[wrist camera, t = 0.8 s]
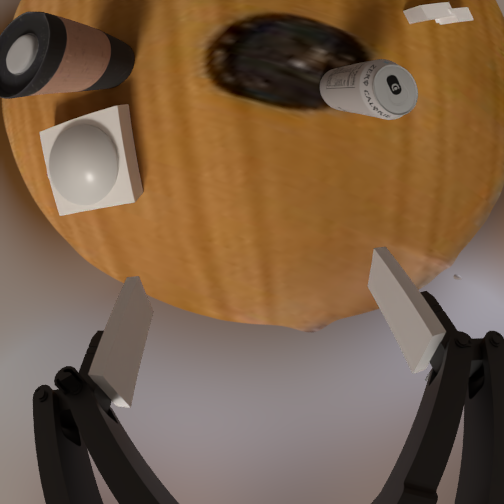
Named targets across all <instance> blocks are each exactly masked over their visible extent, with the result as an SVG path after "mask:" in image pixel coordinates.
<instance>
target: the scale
mask: <svg viewBox="0 0 504 504" xmlns="http://www.w3.org/2000/svg"><path fill="white" fill-rule="evenodd" d="M40 138H41V143H42V149H43V153H44V158H45V163H46V167H47V176H48V178H49V180H50V183H51V187H52V191H53V195H54V198H55V202H56V205H57V208H58V211H59V215H60V216H62V215H67V214H72V213H77V212H82V211H88V210H93V209H99V208H104V207H110V206H116V205H122V204H128V203H135V202H136V201H137V199H138V198H139V197H140V196H141V195H142V193H143V188H142V183H141V178H140V173H139V168H138V162H137V157H136V151H135V145H134V139H133V132H132V126H131V119H130V111H129V104H125V105H117V106H113V107H110V108H106V109H103V110H100V111H96V112H93V113H90V114H87V115H84V116H81V117H78V118H75V119H72V120H69V121H67V122H64V123H61V124H59V125H56V126H54V127H51V128H49V129H46V130H44V131H41V132H40Z"/></svg>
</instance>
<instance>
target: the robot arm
mask: <svg viewBox="0 0 504 504" xmlns="http://www.w3.org/2000/svg"><path fill="white" fill-rule="evenodd" d="M368 288H369V290H370V292H371V293H372V295H373V297H374V299H375V301H376V302H377V304H378V306H379V308H380V310H381V311H382V313H383V315H384V317H385V319H386V321H387V323H388V325H389V327H390V329H391V331H392V333H393V335H394V336H395V338H396V341H397V343H398V344H399V346H400V349H401V351H402V353H403V355H404V357H405V359H406V361H407V363H408V365H409V367H410V370H411V372H412V374H414V373H417V372H419V371H422V370H425V369H426V367H427V366H428V364H429V362H430V363H431V365H432V367H433V368H432V369H431V371H430V372H429V374H428V376H427V377H426V379H425V380H428V382H427V385H426V388H425V391H424V395H423V398H422V401H421V404H420V406H419V409H418V412H417V415H416V418H415V420H414V423H413V425H412V428H411V431H410V433H409V435H408V438H407V440H406V443H405V445H404V447H403V449H402V452H401V454H400V456H399V458H398V460H397V462H396V464H395V466H394V468H393V470H392V472H391V474H390V476H389V478H388V480H387V482H386V484H385V485H384V487H383V489H382V491H381V492H380V494H379V495H378V496H377V497H376V499H375V500H374V501H373V502H372V503H371V504H436V503H437V499H438V496H437V493H436V490H437V487H438V485H439V482H440V480H441V477H442V475H443V472H444V470H445V467H446V464H447V462H448V459H449V456H450V453H451V450H452V447H453V444H454V440H455V437H456V434H457V430H458V427H459V423H460V419H461V415H462V410H463V406H464V436H463V450H462V460H461V468H460V475H459V482H458V488H457V493H456V499H455V504H504V338H503V337H502V335H501V334H499V333H498V332H496V331H489V332H488V333H486V335H485V337H484V338H482V339H471V337H470V336H469V335H468V334H466V333H464V332H459V331H457V330H456V328H455V326H454V325H453V323H452V322H451V320H450V319H449V318H448V316H447V315H446V313H445V312H444V311H443V309H442V307H441V306H440V305H439V303H438V302H437V300H436V299H435V298H434V297H433V296H432V295H431V294H429V293H428V292H427V291H424V292H419V290H418V289H417V287H416V286H415V285H414V283H413V282H412V281H411V279H410V278H409V276H408V275H407V274H406V272H405V271H404V270H403V268H402V267H401V266H400V264H399V263H398V262H397V261H396V259H395V258H394V257H393V255H392V254H391V253H390V252H389V250H388V249H387V248H386V247H379V248H374V251H373V258H372V264H371V270H370V276H369V282H368ZM153 312H154V311H153V309H152V307H151V304H150V302H149V300H148V297H147V295H146V293H145V290H144V288H143V285H142V283H141V280H140V278H139V276H136V277H127V279H126V281H125V283H124V285H123V287H122V290H121V292H120V294H119V296H118V299H117V301H116V303H115V306H114V308H113V310H112V313H111V315H110V317H109V320H108V322H107V325H106V327H105V330H104V331H97V333H96V334H95V335H94V336H93V337H92V339H91V342H90V344H89V348H88V349H87V352H86V354H85V357H84V360H83V363H82V365H81V368H80V370H79V373H78V372H77V370H76V369H75V368H73V367H71V366H66V367H64V368H62V369H61V370H60V371H58V373H57V374H56V376H55V380H54V382H55V385H56V386H57V387H58V388H59V389H57V390H52V389H51V388H50V387H49V386H48V385H41V386H40V387H38V388H37V389H36V390H35V392H34V394H33V417H34V418H33V419H34V433H35V444H36V453H37V460H38V466H39V472H40V479H41V484H42V488H43V493H44V498H45V502H46V504H103V502H102V499H101V496H100V493H99V490H98V487H97V484H96V480H95V477H94V473H93V470H92V466H91V463H90V459H89V455H88V451H89V453H90V455H91V457H92V459H93V461H94V462H95V464H96V466H97V468H98V470H99V472H100V473H101V475H102V477H103V479H104V480H105V482H106V484H107V485H108V487H109V489H110V490H111V492H112V493H113V495H114V497H115V498H116V500H117V501H118V503H119V504H179V503H178V502H177V501H176V500H175V499H174V497H173V496H172V495H171V494H170V493H169V491H168V490H167V489H166V488H165V487H164V485H163V484H162V483H161V481H160V480H159V479H158V478H157V476H156V475H155V474H154V473H153V471H152V470H151V468H150V467H149V466H148V464H147V463H146V462H145V460H144V459H143V457H142V456H141V454H140V453H139V451H138V450H137V449H136V447H135V445H134V444H133V442H132V441H131V439H130V438H129V436H128V435H127V433H126V432H125V430H124V428H123V427H122V425H121V424H120V422H119V420H118V418H117V417H116V415H115V413H114V411H113V410H112V408H111V407H110V405H111V401H112V402H113V403H114V404H115V405H116V406H119V407H131V403H132V399H133V394H134V389H135V385H136V380H137V375H138V371H139V367H140V363H141V359H142V354H143V350H144V346H145V342H146V339H147V335H148V331H149V327H150V324H151V320H152V316H153ZM87 449H88V450H87Z"/></svg>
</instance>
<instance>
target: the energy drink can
mask: <svg viewBox="0 0 504 504" xmlns="http://www.w3.org/2000/svg"><path fill="white" fill-rule="evenodd" d="M320 92H321V95H322V98H323V99H324V101H325V102H326V103H327V104H328V105H329V106H331V107H332V108H334V109H337V110H341V111H347V112H352V113H358V114H363V115H368V116H373V117H377V118H382V119H387V120H393V119H397V118H400V117H401V116H403V115H405V114H407V113H409V112H410V111H411V110H412V109H413V108H414V107H415V105H416V102H417V98H418V90H417V85H416V82H415V80H414V78H413V77H412V75H411V74H410V73H409V72H408V71H407V70H406V69H404V68H403V67H401V66H399V65H397V64H396V63H394V62H392V61H389V60H384V59H379V60H373V61H367V62H362V63H357V64H352V65H347V66H343V67H339V68H334V69H331V70H329V71H328V72H326V73H325V74H324V76H323V77H322V79H321V82H320Z"/></svg>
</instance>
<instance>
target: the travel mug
mask: <svg viewBox="0 0 504 504" xmlns="http://www.w3.org/2000/svg"><path fill="white" fill-rule="evenodd" d="M133 66H134V53H133V51H132V49H131V48H130V46H129V45H127V44H126V43H124V42H122V41H121V40H119V39H117V38H115V37H113V36H111V35H109V34H107V33H105V32H103V31H100V30H98V29H95V28H93V27H90V26H87V25H84V24H81V23H78V22H75V21H72V20H69V19H65V18H62V17H59V16H55V15H52V14H48V13H44V12H26V13H24V14H22V15H20V16H18V17H17V18H16V19H14V20H13V21H12V22H11V23H10V24H9V25H8V26H7V27H6V28H5V30H4V31H3V32H2V34H1V35H0V97H1V98H17V97H24V96H31V95H40V94H50V93H63V92H79V91H88V90H99V89H108V88H113V87H116V86H118V85H120V84H121V83H122V82H124V81H125V80H126V79H127V78H128V76H129V75H130V73H131V71H132V69H133Z"/></svg>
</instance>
